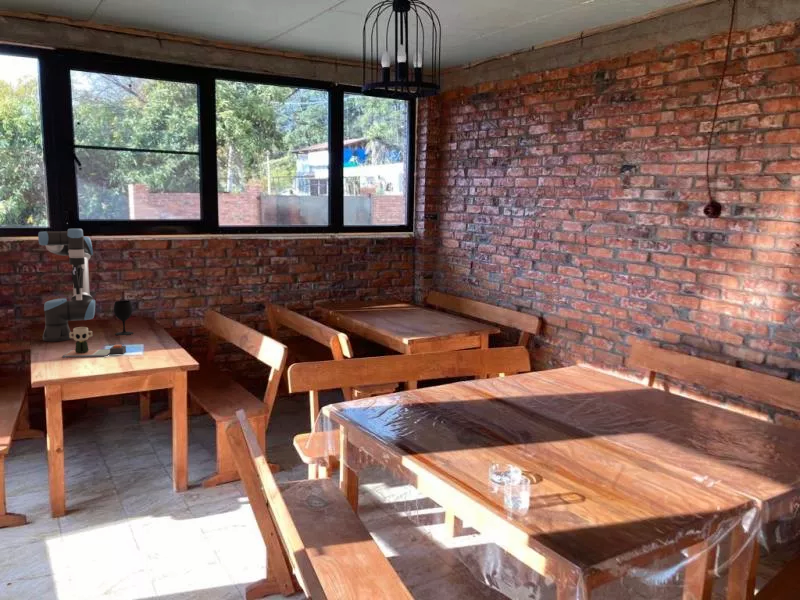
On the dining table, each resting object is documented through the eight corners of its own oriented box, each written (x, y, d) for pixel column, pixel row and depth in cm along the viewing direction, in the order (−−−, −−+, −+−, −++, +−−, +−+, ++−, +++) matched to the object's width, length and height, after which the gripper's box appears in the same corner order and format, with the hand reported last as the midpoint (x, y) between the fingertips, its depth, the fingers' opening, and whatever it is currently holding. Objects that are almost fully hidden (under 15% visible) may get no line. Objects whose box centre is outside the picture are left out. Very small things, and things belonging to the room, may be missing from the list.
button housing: (113, 352, 344) (113, 345, 344) (126, 351, 345) (125, 345, 345) (110, 354, 338) (109, 348, 337) (122, 354, 339) (122, 348, 338)
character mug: (70, 354, 333) (68, 330, 331) (70, 351, 339) (69, 327, 337) (93, 352, 338) (92, 328, 336) (93, 350, 344) (92, 326, 342)
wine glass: (124, 336, 384) (123, 303, 381) (111, 334, 388) (109, 302, 385) (137, 333, 394) (135, 301, 391) (124, 331, 397) (122, 299, 394)
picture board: (71, 351, 345) (71, 349, 345) (114, 350, 348) (114, 348, 348) (61, 357, 330) (61, 356, 330) (107, 356, 334) (107, 355, 334)
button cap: (115, 350, 343) (115, 344, 342) (122, 349, 343) (122, 344, 343) (113, 351, 339) (113, 345, 339) (120, 351, 340) (120, 345, 340)
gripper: (73, 256, 353) (75, 298, 357) (65, 258, 341) (67, 301, 344) (87, 256, 355) (90, 298, 358) (80, 258, 342) (82, 301, 346)
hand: (79, 299), depth 351 cm, fingers closed
